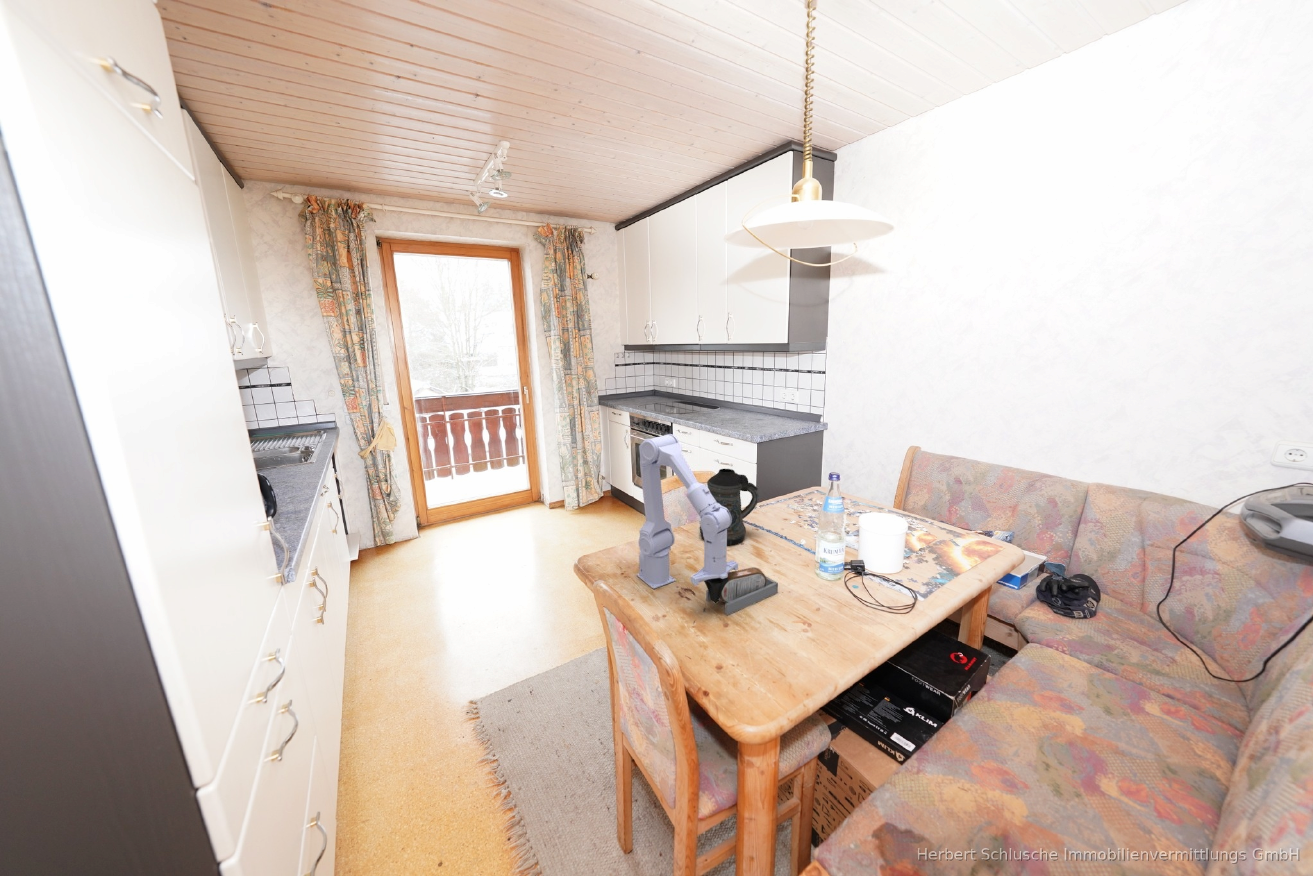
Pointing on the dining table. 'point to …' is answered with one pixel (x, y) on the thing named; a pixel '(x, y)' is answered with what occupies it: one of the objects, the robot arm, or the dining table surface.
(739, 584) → the tin
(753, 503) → the beer stein
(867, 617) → the dining table surface
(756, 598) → the pocket
